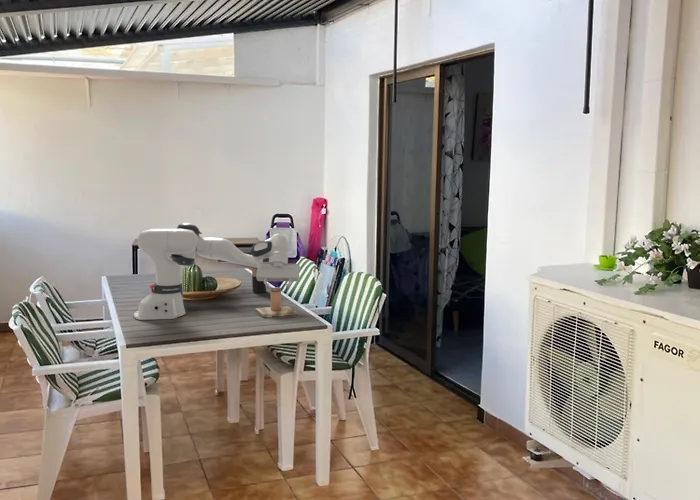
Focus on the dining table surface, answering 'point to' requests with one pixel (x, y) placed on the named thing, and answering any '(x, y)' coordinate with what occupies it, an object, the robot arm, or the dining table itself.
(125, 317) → the dining table surface
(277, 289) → the terracotta jar
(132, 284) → the dining table surface
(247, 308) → the dining table surface
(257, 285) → the travel mug
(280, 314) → the birch board
